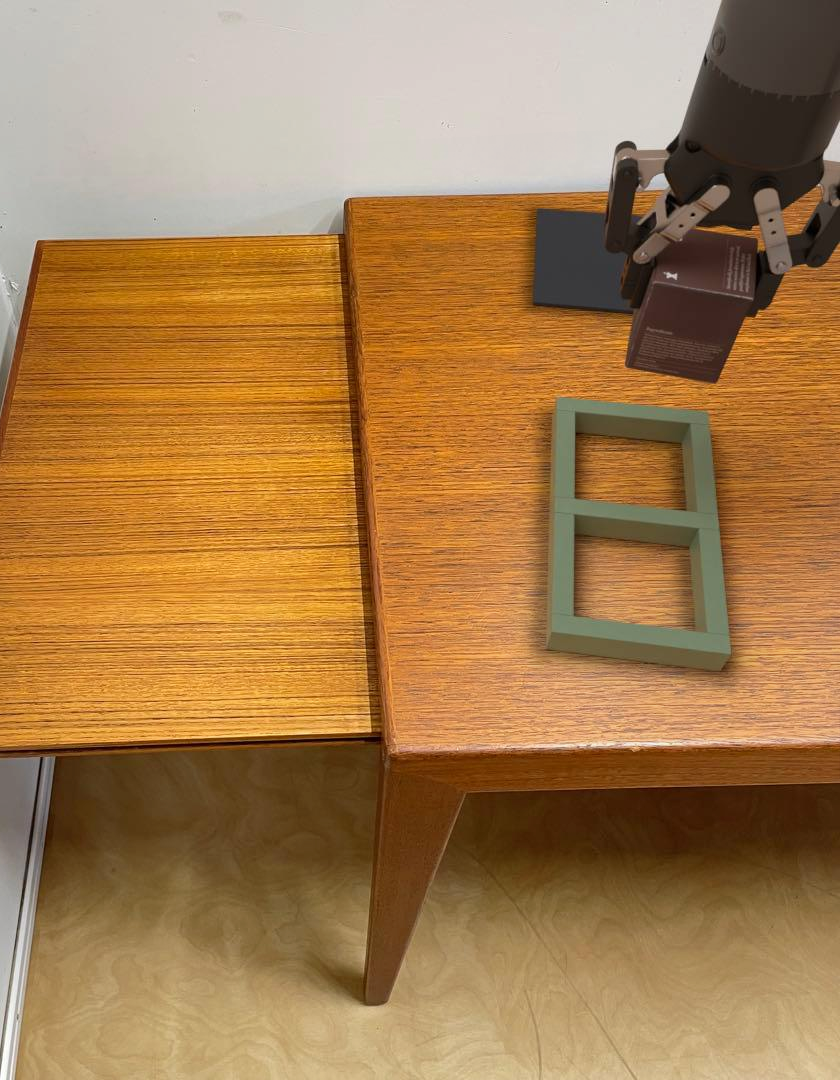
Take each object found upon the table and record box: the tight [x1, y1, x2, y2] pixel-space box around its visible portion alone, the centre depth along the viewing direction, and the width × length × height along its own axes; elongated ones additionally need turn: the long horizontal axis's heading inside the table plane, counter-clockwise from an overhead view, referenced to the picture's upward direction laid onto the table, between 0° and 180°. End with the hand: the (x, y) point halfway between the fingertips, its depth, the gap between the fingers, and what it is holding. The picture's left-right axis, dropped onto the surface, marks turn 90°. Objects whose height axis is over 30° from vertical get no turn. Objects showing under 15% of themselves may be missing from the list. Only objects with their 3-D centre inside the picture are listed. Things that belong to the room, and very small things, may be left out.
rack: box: [545, 396, 732, 672], centre depth 75 cm, size 22×12×2 cm, turn 170°
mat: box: [532, 208, 645, 315], centre depth 94 cm, size 14×14×1 cm
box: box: [624, 227, 759, 385], centre depth 63 cm, size 6×6×7 cm
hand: (688, 303), depth 63 cm, fingers closed on box, 6 cm apart
